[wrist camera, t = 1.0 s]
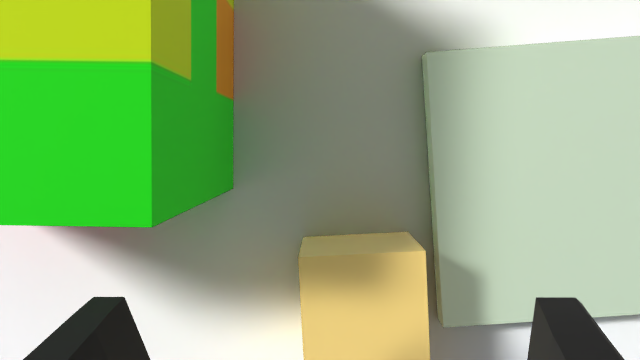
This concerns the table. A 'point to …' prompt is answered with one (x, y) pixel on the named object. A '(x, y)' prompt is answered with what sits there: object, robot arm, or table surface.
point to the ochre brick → (364, 297)
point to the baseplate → (534, 178)
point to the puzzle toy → (114, 110)
